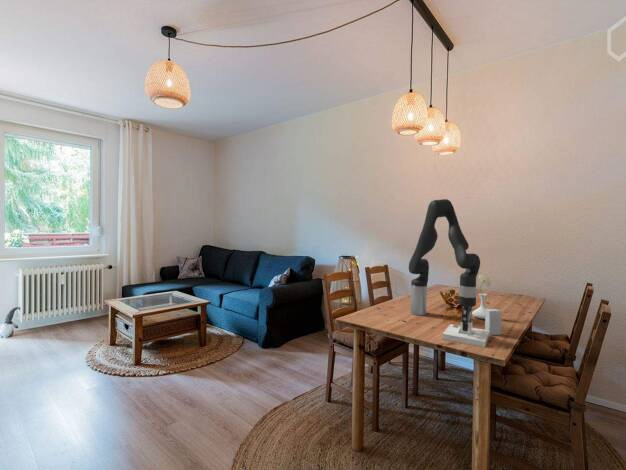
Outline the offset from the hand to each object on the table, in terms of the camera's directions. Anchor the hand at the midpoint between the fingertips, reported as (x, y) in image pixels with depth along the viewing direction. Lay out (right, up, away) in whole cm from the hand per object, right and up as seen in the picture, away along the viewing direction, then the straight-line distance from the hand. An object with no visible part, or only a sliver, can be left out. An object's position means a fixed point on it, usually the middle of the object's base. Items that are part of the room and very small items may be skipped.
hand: (466, 328), depth 160 cm
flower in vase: (+25, -3, +35) cm, 43 cm away
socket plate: (0, -4, 0) cm, 4 cm away
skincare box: (+16, -5, +6) cm, 18 cm away
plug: (0, -4, 0) cm, 4 cm away
